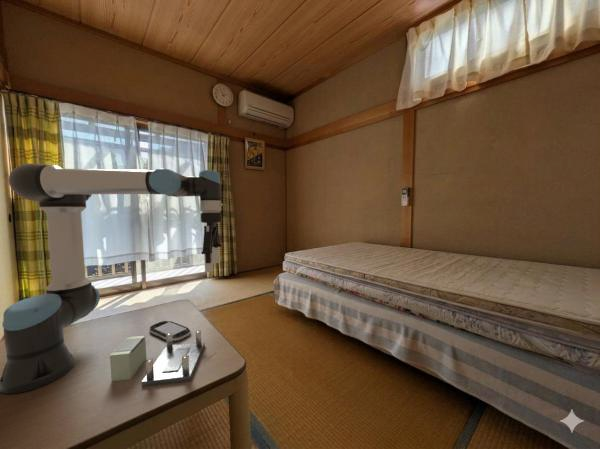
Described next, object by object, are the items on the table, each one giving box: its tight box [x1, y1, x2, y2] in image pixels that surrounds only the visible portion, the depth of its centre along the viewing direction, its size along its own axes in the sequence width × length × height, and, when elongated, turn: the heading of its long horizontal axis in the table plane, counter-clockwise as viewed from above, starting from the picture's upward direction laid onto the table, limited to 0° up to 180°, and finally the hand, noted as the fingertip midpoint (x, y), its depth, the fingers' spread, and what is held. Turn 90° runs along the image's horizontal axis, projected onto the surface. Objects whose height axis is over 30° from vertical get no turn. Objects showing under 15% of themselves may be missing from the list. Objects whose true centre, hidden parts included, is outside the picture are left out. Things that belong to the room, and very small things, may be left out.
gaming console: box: [148, 320, 191, 343], centre depth 97 cm, size 19×9×2 cm, turn 60°
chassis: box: [141, 330, 206, 387], centre depth 77 cm, size 13×18×6 cm
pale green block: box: [109, 335, 147, 382], centre depth 75 cm, size 5×10×8 cm, turn 9°
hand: (213, 267), depth 91 cm, fingers open, 13 cm apart
